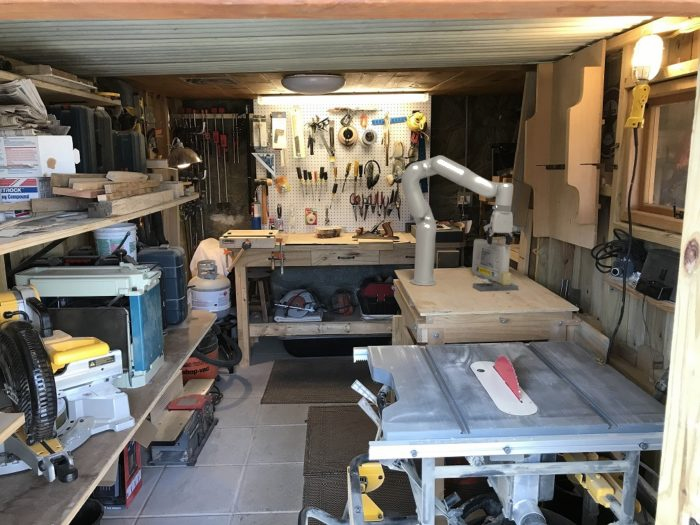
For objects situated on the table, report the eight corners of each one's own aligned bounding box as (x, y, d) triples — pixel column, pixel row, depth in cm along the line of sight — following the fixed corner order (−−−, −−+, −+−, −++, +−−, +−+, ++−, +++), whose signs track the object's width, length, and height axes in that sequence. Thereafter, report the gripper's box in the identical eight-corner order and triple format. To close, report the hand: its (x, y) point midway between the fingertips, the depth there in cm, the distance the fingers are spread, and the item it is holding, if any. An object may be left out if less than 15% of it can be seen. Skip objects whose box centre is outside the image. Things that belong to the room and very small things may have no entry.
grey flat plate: (472, 287, 268) (472, 283, 267) (509, 286, 272) (510, 282, 272) (479, 291, 260) (480, 287, 260) (517, 290, 264) (518, 286, 264)
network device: (510, 285, 273) (514, 246, 269) (496, 286, 270) (499, 246, 266) (480, 274, 297) (483, 238, 293) (467, 275, 293) (469, 238, 289)
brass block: (498, 287, 268) (499, 271, 267) (505, 287, 269) (507, 271, 268) (502, 289, 265) (503, 273, 263) (509, 289, 266) (511, 273, 264)
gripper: (489, 209, 255) (485, 245, 258) (523, 210, 258) (518, 246, 262) (482, 207, 262) (478, 242, 265) (515, 208, 266) (511, 243, 269)
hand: (498, 244), depth 264 cm, fingers open, 9 cm apart
